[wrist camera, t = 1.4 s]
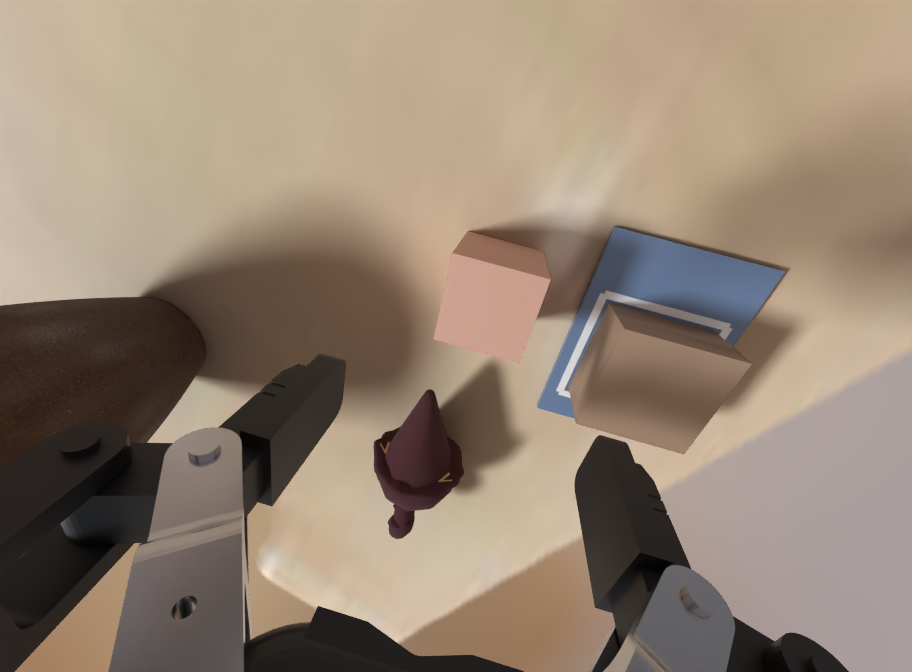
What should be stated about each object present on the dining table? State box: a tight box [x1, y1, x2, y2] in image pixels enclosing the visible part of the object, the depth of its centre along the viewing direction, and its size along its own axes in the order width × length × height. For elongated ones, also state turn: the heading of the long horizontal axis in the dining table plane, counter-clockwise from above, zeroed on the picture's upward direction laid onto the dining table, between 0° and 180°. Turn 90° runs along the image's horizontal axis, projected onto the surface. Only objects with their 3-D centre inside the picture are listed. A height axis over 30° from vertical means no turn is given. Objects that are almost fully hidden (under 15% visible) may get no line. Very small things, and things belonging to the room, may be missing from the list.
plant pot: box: [0, 297, 205, 562], centre depth 24 cm, size 15×15×16 cm
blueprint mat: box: [537, 226, 785, 418], centre depth 24 cm, size 14×10×1 cm
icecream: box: [374, 390, 464, 539], centre depth 28 cm, size 7×7×15 cm
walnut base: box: [569, 303, 752, 454], centre depth 22 cm, size 7×7×4 cm
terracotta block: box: [433, 231, 551, 363], centre depth 21 cm, size 5×5×6 cm
